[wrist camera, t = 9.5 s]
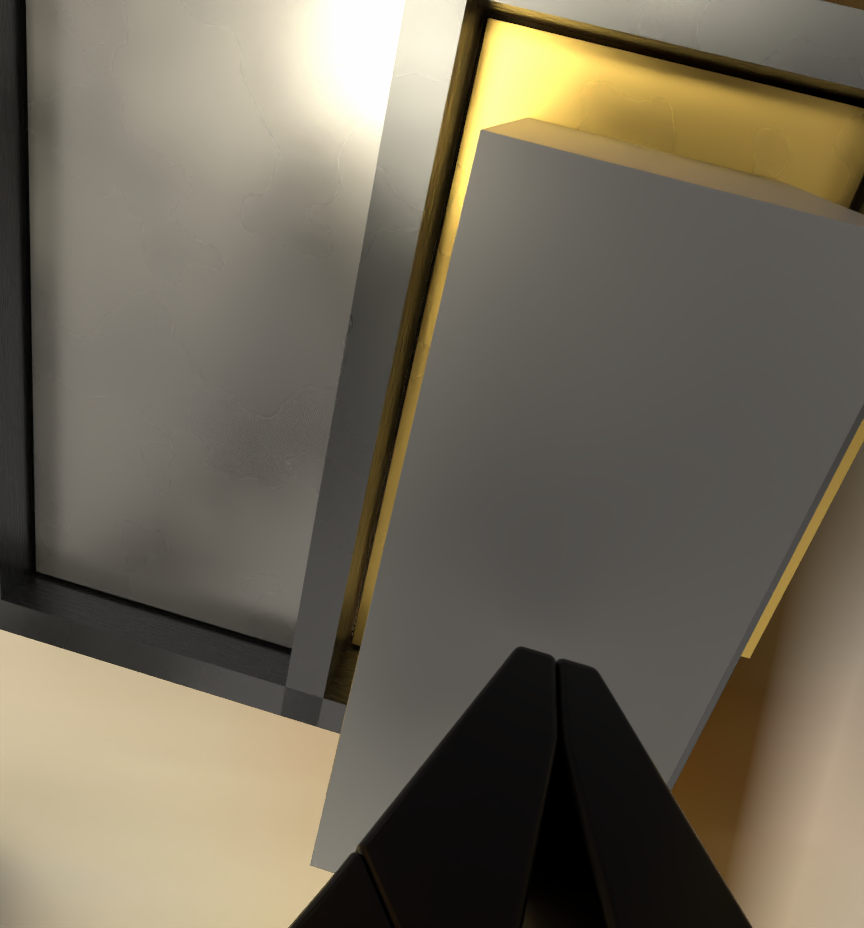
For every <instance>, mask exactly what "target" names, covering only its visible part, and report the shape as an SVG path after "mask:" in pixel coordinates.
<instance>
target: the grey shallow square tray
mask: <svg viewBox="0 0 864 928" xmlns="http://www.w3.org/2000/svg"><path fill="white" fill-rule="evenodd" d="M486 11H488V12H492V13H496V14H501V15H505V16H509V17H513V18H517V19H521V20H526V21H530V22H534V23H538V24H542V25H546V26H551V27H555V28H559V29H563V30H567V31H571V32H576V33H580V34H584V35H588V36H592V37H596V38H601V39H605V40H609V41H613V42H617V43H621V44H625V45H630V46H634V47H638V48H642V49H646V50H650V51H655V52H659V53H663V54H667V55H671V56H675V57H680V58H684V59H688V60H692V61H696V62H700V63H705V64H709V65H713V66H717V67H721V68H725V69H730V70H734V71H738V72H742V73H746V74H750V75H755V76H759V77H763V78H767V79H771V80H775V81H780V82H784V83H788V84H792V85H796V86H800V87H805V88H809V89H813V90H817V91H821V92H825V93H830V94H834V95H838V96H842V97H846V98H850V99H855V100H859V101H863V102H864V10H860V9H856V8H852V7H847V6H843V5H839V4H835V3H830V2H826V1H822V0H0V629H1V630H4V631H8V632H11V633H14V634H17V635H21V636H24V637H27V638H30V639H34V640H37V641H40V642H43V643H47V644H50V645H53V646H56V647H60V648H63V649H66V650H69V651H73V652H76V653H79V654H82V655H86V656H89V657H92V658H95V659H99V660H102V661H105V662H108V663H112V664H115V665H118V666H121V667H125V668H128V669H131V670H134V671H138V672H141V673H144V674H147V675H151V676H154V677H157V678H160V679H164V680H167V681H170V682H173V683H177V684H180V685H183V686H186V687H190V688H193V689H196V690H199V691H203V692H206V693H209V694H212V695H216V696H219V697H222V698H225V699H229V700H232V701H235V702H238V703H242V704H245V705H248V706H251V707H255V708H258V709H261V710H264V711H268V712H271V713H274V714H277V715H280V716H284V717H287V718H290V719H293V720H297V721H300V722H303V723H306V724H310V725H313V726H316V727H319V728H323V729H326V730H329V731H332V732H336V733H339V734H340V733H341V729H342V724H343V720H344V716H345V711H346V707H347V703H348V698H349V694H350V690H351V685H352V681H353V677H354V672H355V668H356V664H357V659H358V655H359V651H360V646H361V642H362V638H363V633H364V629H365V625H366V620H367V616H368V612H369V607H370V603H371V599H372V594H373V590H374V586H375V581H376V577H377V573H378V568H379V564H380V560H381V555H382V551H383V547H384V542H385V538H386V534H387V529H388V525H389V521H390V516H391V512H392V508H393V503H394V499H395V495H396V490H397V486H398V482H399V477H400V473H401V469H402V464H403V460H404V456H405V451H406V447H407V443H408V438H409V434H410V430H411V425H412V421H413V417H414V412H415V408H416V404H417V399H418V395H419V391H420V386H421V382H422V378H423V373H424V369H425V365H426V360H427V356H428V352H429V348H430V343H431V339H432V335H433V330H434V326H435V322H436V317H437V313H438V309H439V304H440V300H441V296H442V291H443V287H444V283H445V278H446V274H447V270H448V265H449V261H450V257H451V252H452V248H453V244H454V239H455V236H456V233H457V228H458V224H459V220H460V215H461V211H462V207H463V202H464V198H465V194H466V190H467V185H468V181H469V177H470V172H471V168H472V164H473V159H474V155H475V151H476V146H477V142H478V138H479V133H480V129H484V128H488V127H492V126H496V125H499V124H503V123H507V122H511V121H515V120H519V119H523V118H527V117H529V118H533V119H537V120H541V121H545V122H549V123H553V124H557V125H561V126H565V127H569V128H573V129H576V130H580V131H584V132H588V133H592V134H596V135H600V136H604V137H608V138H612V139H616V140H620V141H624V142H628V143H632V144H636V145H640V146H644V147H648V148H652V149H655V150H659V151H663V152H667V153H671V154H675V155H679V156H683V157H687V158H691V159H695V160H699V161H703V162H707V163H711V164H715V165H719V166H723V167H727V168H731V169H734V170H738V171H742V172H746V173H750V174H754V175H758V176H762V177H766V178H770V179H774V180H778V181H782V182H785V183H787V184H789V185H792V186H794V187H797V188H799V189H802V190H804V191H807V192H809V193H812V194H814V195H816V196H819V197H821V198H824V199H826V200H829V201H831V202H834V203H836V204H838V205H841V206H843V207H846V208H848V209H851V210H853V211H856V212H858V213H860V214H863V215H864V175H863V174H864V108H860V107H856V106H852V105H848V104H844V103H839V102H835V101H831V100H827V99H823V98H819V97H815V96H810V95H806V94H802V93H798V92H794V91H790V90H785V89H781V88H777V87H773V86H769V85H765V84H761V83H756V82H752V81H748V80H744V79H740V78H736V77H731V76H727V75H723V74H719V73H715V72H711V71H707V70H702V69H698V68H694V67H690V66H686V65H682V64H677V63H673V62H669V61H665V60H661V59H657V58H653V57H648V56H644V55H640V54H636V53H632V52H628V51H623V50H619V49H615V48H611V47H607V46H603V45H598V44H594V43H590V42H586V41H582V40H578V39H574V38H569V37H565V36H561V35H557V34H553V33H549V32H544V31H540V30H536V29H532V28H528V27H524V26H520V25H515V24H511V23H507V22H503V21H499V20H495V19H490V18H488V22H487V27H486V31H485V36H484V41H483V45H482V50H481V54H480V59H479V63H478V68H477V73H476V77H475V82H474V86H473V91H472V95H471V100H470V105H469V109H468V114H467V118H466V123H465V127H464V132H463V137H462V141H461V146H460V150H459V155H458V159H457V164H456V169H455V173H454V178H453V182H452V187H451V191H450V196H449V201H448V205H447V210H446V214H445V219H444V223H443V228H442V233H441V237H440V242H439V246H438V251H437V255H436V260H435V265H434V269H433V274H432V278H431V283H430V287H429V292H428V297H427V301H426V306H425V310H424V315H423V319H422V324H421V329H420V333H419V338H418V342H417V347H416V351H415V356H414V361H413V365H412V370H411V374H410V379H409V384H408V388H407V393H406V397H405V402H404V406H403V411H402V416H401V420H400V425H399V429H398V434H397V438H396V443H395V448H394V452H393V457H392V461H391V466H390V470H389V475H388V480H387V484H386V489H385V493H384V498H383V502H382V507H381V512H380V516H379V521H378V525H377V530H376V534H375V539H374V544H373V548H372V553H371V557H370V562H369V566H368V571H367V576H366V580H365V585H364V589H363V594H362V598H361V603H360V608H359V612H358V617H357V621H356V626H355V630H354V635H353V638H352V637H350V636H351V632H352V627H353V622H354V618H355V613H356V609H357V604H358V599H359V595H360V590H361V585H362V581H363V576H364V572H365V567H366V562H367V558H368V553H369V548H370V544H371V539H372V535H373V530H374V525H375V521H376V516H377V512H378V507H379V502H380V498H381V493H382V488H383V484H384V479H385V475H386V470H387V465H388V461H389V456H390V452H391V447H392V442H393V438H394V433H395V428H396V424H397V419H398V415H399V410H400V405H401V401H402V396H403V392H404V387H405V382H406V378H407V373H408V368H409V364H410V359H411V355H412V350H413V345H414V341H415V336H416V332H417V327H418V322H419V318H420V313H421V308H422V304H423V299H424V295H425V290H426V285H427V281H428V276H429V272H430V267H431V262H432V258H433V253H434V248H435V244H436V239H437V235H438V230H439V225H440V221H441V216H442V212H443V207H444V202H445V198H446V193H447V188H448V184H449V179H450V175H451V170H452V165H453V161H454V156H455V152H456V147H457V142H458V138H459V133H460V128H461V124H462V119H463V115H464V110H465V105H466V101H467V96H468V92H469V87H470V82H471V78H472V73H473V68H474V64H475V59H476V55H477V50H478V45H479V41H480V36H481V32H482V27H483V22H484V18H485V13H486ZM862 176H863V177H862ZM860 181H861V182H860ZM859 183H860V184H859ZM858 185H859V186H858ZM855 192H856V193H855ZM854 194H855V195H854ZM851 201H852V202H851ZM850 203H851V204H850ZM863 441H864V404H863V406H862V408H861V410H860V412H859V414H858V415H857V417H856V419H855V421H854V423H853V425H852V427H851V429H850V431H849V433H848V435H847V437H846V439H845V441H844V443H843V445H842V446H841V448H840V450H839V452H838V454H837V456H836V458H835V460H834V462H833V464H832V466H831V468H830V470H829V472H828V474H827V476H826V477H825V479H824V481H823V483H822V485H821V487H820V489H819V491H818V493H817V495H816V497H815V499H814V501H813V503H812V505H811V506H810V508H809V510H808V512H807V514H806V516H805V518H804V520H803V522H802V524H801V526H800V528H799V530H798V532H797V534H796V536H795V537H794V539H793V541H792V543H791V545H790V547H789V549H788V551H787V553H786V555H785V557H784V559H783V561H782V563H781V565H780V567H779V568H778V570H777V572H776V574H775V576H774V578H773V580H772V582H771V584H770V586H769V588H768V590H767V592H766V594H765V596H764V597H763V599H762V601H761V603H760V605H759V607H758V609H757V611H756V613H755V615H754V617H753V619H752V621H751V623H750V625H749V627H748V628H747V630H746V632H745V634H744V636H743V638H742V640H741V642H740V644H739V646H738V648H737V650H736V652H735V654H734V656H733V658H732V659H731V661H730V663H729V665H728V667H727V669H726V671H725V673H724V675H723V677H722V679H721V681H720V683H719V685H718V687H717V689H716V690H715V692H714V694H713V696H712V698H711V700H710V702H709V704H708V706H707V708H706V710H705V712H704V714H703V716H702V718H701V719H700V721H699V723H698V725H697V727H696V729H695V731H694V733H693V735H692V737H691V739H690V741H689V743H688V745H687V747H686V749H685V750H684V752H683V754H682V756H681V758H680V760H679V762H678V764H677V766H676V768H675V770H674V772H673V774H672V776H671V778H670V780H669V781H668V783H667V786H668V788H669V789H670V791H671V790H672V788H673V786H674V784H675V782H676V781H677V779H678V777H679V775H680V773H681V771H682V769H683V767H684V765H685V763H686V761H687V759H688V757H689V755H690V753H691V751H692V750H693V748H694V746H695V744H696V742H697V740H698V738H699V736H700V734H701V732H702V730H703V728H704V726H705V724H706V722H707V720H708V719H709V717H710V715H711V713H712V711H713V709H714V707H715V705H716V703H717V701H718V699H719V697H720V695H721V693H722V691H723V689H724V688H725V686H726V684H727V682H728V680H729V678H730V676H731V674H732V672H733V670H734V668H735V666H736V664H737V662H738V660H739V658H740V657H741V656H743V657H746V658H749V659H750V657H751V655H752V653H753V651H754V649H755V647H756V645H757V643H758V642H759V640H760V638H761V636H762V634H763V632H764V630H765V628H766V626H767V624H768V622H769V621H770V619H771V617H772V615H773V613H774V611H775V609H776V607H777V605H778V603H779V601H780V600H781V598H782V596H783V594H784V592H785V590H786V588H787V586H788V584H789V582H790V580H791V579H792V577H793V575H794V573H795V571H796V569H797V567H798V565H799V563H800V561H801V560H802V558H803V556H804V554H805V552H806V550H807V548H808V546H809V544H810V542H811V540H812V539H813V537H814V535H815V533H816V531H817V529H818V527H819V525H820V523H821V521H822V519H823V518H824V516H825V514H826V512H827V510H828V508H829V506H830V504H831V502H832V500H833V498H834V497H835V495H836V493H837V491H838V489H839V487H840V485H841V483H842V481H843V479H844V477H845V476H846V474H847V472H848V470H849V468H850V466H851V464H852V462H853V460H854V458H855V456H856V455H857V453H858V451H859V449H860V447H861V445H862V443H863Z"/></svg>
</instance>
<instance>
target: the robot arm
mask: <svg viewBox="0 0 864 928" xmlns="http://www.w3.org/2000/svg"><path fill="white" fill-rule="evenodd" d="M289 928H752V926H751V924H750V923H749V921H748V919H747V918H746V916H745V914H744V913H743V911H742V909H741V908H740V906H739V904H738V903H737V901H736V899H735V898H734V896H733V894H732V893H731V891H730V889H729V888H728V886H727V884H726V883H725V881H724V879H723V878H722V876H721V874H720V873H719V871H718V869H717V868H716V866H715V864H714V863H713V861H712V859H711V858H710V856H709V854H708V853H707V851H706V849H705V848H704V846H703V844H702V843H701V841H700V839H699V838H698V836H697V834H696V833H695V831H694V829H693V828H692V826H691V824H690V823H689V821H688V819H687V818H686V816H685V814H684V813H683V811H682V809H681V808H680V806H679V804H678V803H677V801H676V799H675V798H674V796H673V794H672V793H671V791H670V789H669V788H668V786H667V784H666V783H665V781H664V779H663V778H662V776H661V774H660V773H659V771H658V769H657V768H656V766H655V764H654V763H653V761H652V759H651V758H650V756H649V754H648V753H647V751H646V749H645V748H644V746H643V744H642V743H641V741H640V739H639V738H638V736H637V734H636V733H635V731H634V729H633V728H632V726H631V724H630V723H629V721H628V719H627V718H626V716H625V714H624V713H623V711H622V709H621V708H620V706H619V704H618V703H617V701H616V699H615V698H614V696H613V694H612V693H611V691H610V689H609V688H608V686H607V684H606V683H605V681H604V679H603V678H602V676H601V675H600V673H599V672H598V671H597V670H596V669H595V668H594V667H591V666H588V665H585V664H581V663H578V662H574V661H571V660H567V659H564V658H561V659H558V660H557V661H555V658H554V657H553V656H552V655H550V654H547V653H544V652H540V651H537V650H534V649H530V648H527V647H524V646H519V647H517V648H515V649H514V650H513V651H512V653H511V654H510V655H509V656H508V658H507V659H506V660H505V661H504V663H503V664H502V665H501V666H500V668H499V669H498V670H497V671H496V673H495V674H494V675H493V677H492V678H491V679H490V680H489V682H488V683H487V684H486V685H485V687H484V688H483V689H482V690H481V692H480V693H479V694H478V695H477V697H476V698H475V699H474V700H473V702H472V703H471V704H470V705H469V707H468V708H467V709H466V710H465V712H464V713H463V714H462V715H461V717H460V718H459V719H458V720H457V722H456V723H455V724H454V725H453V727H452V728H451V729H450V730H449V732H448V733H447V734H446V735H445V737H444V738H443V739H442V740H441V742H440V743H439V744H438V745H437V747H436V748H435V749H434V750H433V752H432V753H431V754H430V755H429V757H428V758H427V759H426V760H425V762H424V763H423V764H422V765H421V767H420V768H419V769H418V770H417V772H416V773H415V774H414V775H413V777H412V778H411V779H410V781H409V782H408V783H407V784H406V786H405V787H404V788H403V789H402V791H401V792H400V793H399V794H398V796H397V797H396V798H395V799H394V801H393V802H392V803H391V804H390V806H389V807H388V808H387V809H386V811H385V812H384V813H383V814H382V816H381V817H380V818H379V819H378V821H377V822H376V823H375V824H374V826H373V827H372V828H371V829H370V831H369V832H368V833H367V834H366V836H365V837H364V838H363V839H362V841H361V842H360V843H359V844H358V846H357V847H356V850H355V852H353V853H351V854H350V855H349V856H348V857H347V859H346V860H345V861H344V862H343V864H342V865H341V866H340V867H339V869H338V870H337V871H336V872H335V874H334V875H333V876H332V877H331V879H330V880H329V881H328V882H327V884H326V885H325V886H324V887H323V888H322V889H321V891H320V892H319V893H318V894H317V895H316V896H315V897H314V899H313V900H312V901H311V902H310V903H309V904H308V906H307V907H306V908H305V909H304V910H303V911H302V913H301V914H300V915H299V916H298V917H297V918H296V920H295V921H294V922H293V923H292V924H291V925H290V926H289Z"/></svg>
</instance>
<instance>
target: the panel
mask: <svg viewBox="0 0 864 928" xmlns="http://www.w3.org/2000/svg"><path fill="white" fill-rule="evenodd" d="M863 404H864V215H863V214H860V213H858V212H856V211H853V210H851V209H848V208H846V207H843V206H841V205H838V204H836V203H834V202H831V201H829V200H826V199H824V198H821V197H819V196H816V195H814V194H812V193H809V192H807V191H804V190H802V189H799V188H797V187H794V186H792V185H789V184H787V183H785V182H782V181H778V180H774V179H770V178H766V177H762V176H758V175H754V174H750V173H746V172H742V171H738V170H734V169H731V168H727V167H723V166H719V165H715V164H711V163H707V162H703V161H699V160H695V159H691V158H687V157H683V156H679V155H675V154H671V153H667V152H663V151H659V150H655V149H652V148H648V147H644V146H640V145H636V144H632V143H628V142H624V141H620V140H616V139H612V138H608V137H604V136H600V135H596V134H592V133H588V132H584V131H580V130H576V129H573V128H569V127H565V126H561V125H557V124H553V123H549V122H545V121H541V120H537V119H533V118H529V117H527V118H523V119H519V120H515V121H511V122H507V123H503V124H499V125H496V126H492V127H488V128H484V129H480V133H479V138H478V142H477V146H476V151H475V155H474V159H473V164H472V168H471V172H470V177H469V181H468V185H467V190H466V194H465V198H464V202H463V207H462V211H461V215H460V220H459V224H458V228H457V233H456V236H455V239H454V244H453V248H452V252H451V257H450V261H449V265H448V270H447V274H446V278H445V283H444V287H443V291H442V296H441V300H440V304H439V309H438V313H437V317H436V322H435V326H434V330H433V335H432V339H431V343H430V348H429V352H428V356H427V360H426V365H425V369H424V373H423V378H422V382H421V386H420V391H419V395H418V399H417V404H416V408H415V412H414V417H413V421H412V425H411V430H410V434H409V438H408V443H407V447H406V451H405V456H404V460H403V464H402V469H401V473H400V477H399V482H398V486H397V490H396V495H395V499H394V503H393V508H392V512H391V516H390V521H389V525H388V529H387V534H386V538H385V542H384V547H383V551H382V555H381V560H380V564H379V568H378V573H377V577H376V581H375V586H374V590H373V594H372V599H371V603H370V607H369V612H368V616H367V620H366V625H365V629H364V633H363V638H362V642H361V646H360V651H359V655H358V659H357V664H356V668H355V672H354V677H353V681H352V685H351V690H350V694H349V698H348V703H347V707H346V711H345V716H344V720H343V724H342V729H341V733H340V737H339V741H338V746H337V750H336V754H335V759H334V763H333V767H332V772H331V776H330V780H329V785H328V789H327V793H326V799H325V804H324V808H323V812H322V817H321V821H320V825H319V829H318V834H317V838H316V842H315V847H314V851H313V855H312V860H311V864H310V865H311V866H314V867H317V868H320V869H323V870H326V871H329V872H332V873H335V872H336V871H337V870H338V869H339V867H340V866H341V865H342V864H343V862H344V861H345V860H346V859H347V857H348V856H349V855H350V854H351V853H353V852H355V850H356V847H357V846H358V844H359V843H360V842H361V841H362V839H363V838H364V837H365V836H366V834H367V833H368V832H369V831H370V829H371V828H372V827H373V826H374V824H375V823H376V822H377V821H378V819H379V818H380V817H381V816H382V814H383V813H384V812H385V811H386V809H387V808H388V807H389V806H390V804H391V803H392V802H393V801H394V799H395V798H396V797H397V796H398V794H399V793H400V792H401V791H402V789H403V788H404V787H405V786H406V784H407V783H408V782H409V781H410V779H411V778H412V777H413V775H414V774H415V773H416V772H417V770H418V769H419V768H420V767H421V765H422V764H423V763H424V762H425V760H426V759H427V758H428V757H429V755H430V754H431V753H432V752H433V750H434V749H435V748H436V747H437V745H438V744H439V743H440V742H441V740H442V739H443V738H444V737H445V735H446V734H447V733H448V732H449V730H450V729H451V728H452V727H453V725H454V724H455V723H456V722H457V720H458V719H459V718H460V717H461V715H462V714H463V713H464V712H465V710H466V709H467V708H468V707H469V705H470V704H471V703H472V702H473V700H474V699H475V698H476V697H477V695H478V694H479V693H480V692H481V690H482V689H483V688H484V687H485V685H486V684H487V683H488V682H489V680H490V679H491V678H492V677H493V675H494V674H495V673H496V671H497V670H498V669H499V668H500V666H501V665H502V664H503V663H504V661H505V660H506V659H507V658H508V656H509V655H510V654H511V653H512V651H513V650H514V649H515V648H517V647H519V646H524V647H527V648H530V649H534V650H537V651H540V652H544V653H547V654H550V655H552V656H553V657H554V658H555V661H557V660H558V659H561V658H564V659H567V660H571V661H574V662H578V663H581V664H585V665H588V666H591V667H594V668H595V669H596V670H597V671H598V672H599V673H600V675H601V676H602V678H603V679H604V681H605V683H606V684H607V686H608V688H609V689H610V691H611V693H612V694H613V696H614V698H615V699H616V701H617V703H618V704H619V706H620V708H621V709H622V711H623V713H624V714H625V716H626V718H627V719H628V721H629V723H630V724H631V726H632V728H633V729H634V731H635V733H636V734H637V736H638V738H639V739H640V741H641V743H642V744H643V746H644V748H645V749H646V751H647V753H648V754H649V756H650V758H651V759H652V761H653V763H654V764H655V766H656V768H657V769H658V771H659V773H660V774H661V776H662V778H663V779H664V781H665V783H666V784H667V783H668V781H669V780H670V778H671V776H672V774H673V772H674V770H675V768H676V766H677V764H678V762H679V760H680V758H681V756H682V754H683V752H684V750H685V749H686V747H687V745H688V743H689V741H690V739H691V737H692V735H693V733H694V731H695V729H696V727H697V725H698V723H699V721H700V719H701V718H702V716H703V714H704V712H705V710H706V708H707V706H708V704H709V702H710V700H711V698H712V696H713V694H714V692H715V690H716V689H717V687H718V685H719V683H720V681H721V679H722V677H723V675H724V673H725V671H726V669H727V667H728V665H729V663H730V661H731V659H732V658H733V656H734V654H735V652H736V650H737V648H738V646H739V644H740V642H741V640H742V638H743V636H744V634H745V632H746V630H747V628H748V627H749V625H750V623H751V621H752V619H753V617H754V615H755V613H756V611H757V609H758V607H759V605H760V603H761V601H762V599H763V597H764V596H765V594H766V592H767V590H768V588H769V586H770V584H771V582H772V580H773V578H774V576H775V574H776V572H777V570H778V568H779V567H780V565H781V563H782V561H783V559H784V557H785V555H786V553H787V551H788V549H789V547H790V545H791V543H792V541H793V539H794V537H795V536H796V534H797V532H798V530H799V528H800V526H801V524H802V522H803V520H804V518H805V516H806V514H807V512H808V510H809V508H810V506H811V505H812V503H813V501H814V499H815V497H816V495H817V493H818V491H819V489H820V487H821V485H822V483H823V481H824V479H825V477H826V476H827V474H828V472H829V470H830V468H831V466H832V464H833V462H834V460H835V458H836V456H837V454H838V452H839V450H840V448H841V446H842V445H843V443H844V441H845V439H846V437H847V435H848V433H849V431H850V429H851V427H852V425H853V423H854V421H855V419H856V417H857V415H858V414H859V412H860V410H861V408H862V406H863Z"/></svg>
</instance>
